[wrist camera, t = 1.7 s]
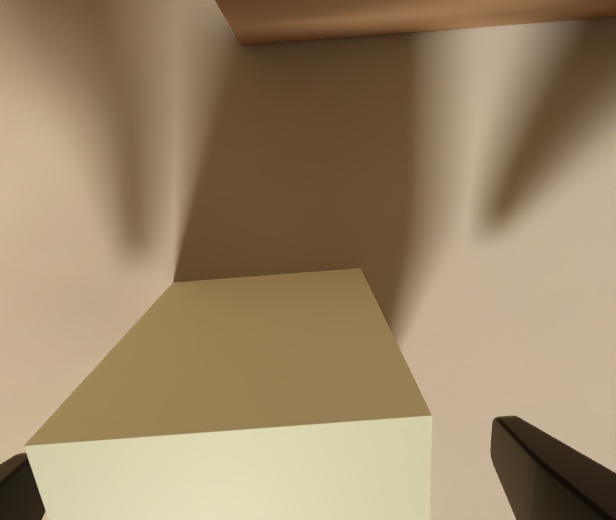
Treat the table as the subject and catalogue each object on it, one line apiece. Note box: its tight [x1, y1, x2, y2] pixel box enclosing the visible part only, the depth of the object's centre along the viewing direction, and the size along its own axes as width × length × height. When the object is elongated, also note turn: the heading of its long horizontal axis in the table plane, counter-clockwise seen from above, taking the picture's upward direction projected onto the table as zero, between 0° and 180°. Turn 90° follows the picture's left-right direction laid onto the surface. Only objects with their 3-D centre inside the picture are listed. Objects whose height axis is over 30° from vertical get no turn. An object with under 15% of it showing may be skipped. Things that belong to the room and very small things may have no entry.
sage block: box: [24, 268, 432, 520], centre depth 8 cm, size 5×5×6 cm
